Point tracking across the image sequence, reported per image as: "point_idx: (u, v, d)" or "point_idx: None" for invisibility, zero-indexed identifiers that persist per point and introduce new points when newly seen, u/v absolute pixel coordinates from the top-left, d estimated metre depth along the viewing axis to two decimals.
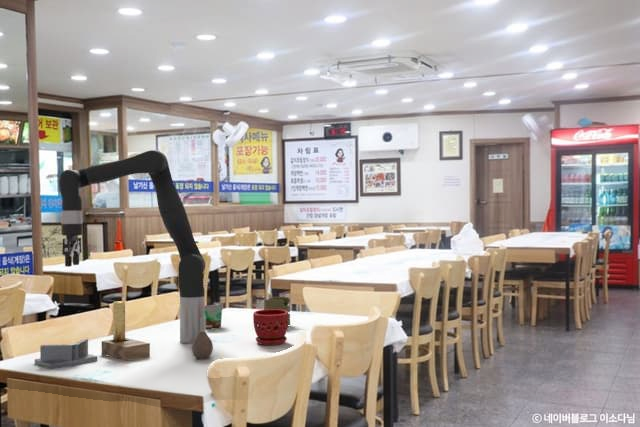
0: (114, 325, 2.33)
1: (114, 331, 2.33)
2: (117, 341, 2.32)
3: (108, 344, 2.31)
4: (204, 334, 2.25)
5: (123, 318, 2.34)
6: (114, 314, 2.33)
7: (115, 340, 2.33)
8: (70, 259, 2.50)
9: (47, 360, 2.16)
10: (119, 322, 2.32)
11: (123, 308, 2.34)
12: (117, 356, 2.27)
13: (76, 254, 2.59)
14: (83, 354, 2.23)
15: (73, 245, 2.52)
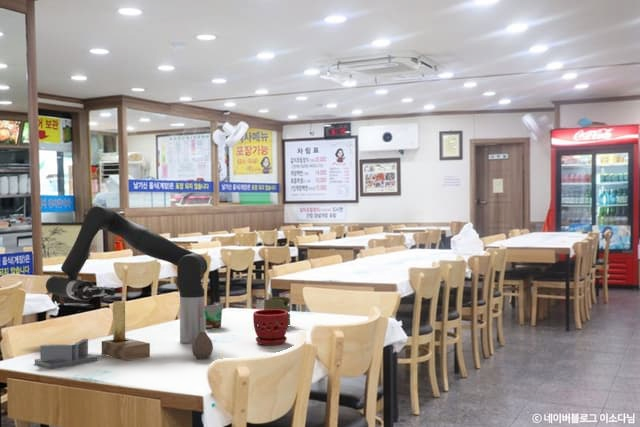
0: (114, 325, 2.33)
1: (114, 331, 2.33)
2: (117, 341, 2.32)
3: (108, 344, 2.31)
4: (204, 334, 2.25)
5: (123, 318, 2.34)
6: (114, 314, 2.33)
7: (115, 340, 2.33)
8: (86, 291, 2.40)
9: (47, 360, 2.16)
10: (119, 322, 2.32)
11: (123, 308, 2.34)
12: (117, 356, 2.27)
13: (107, 291, 2.48)
14: (83, 354, 2.23)
15: None
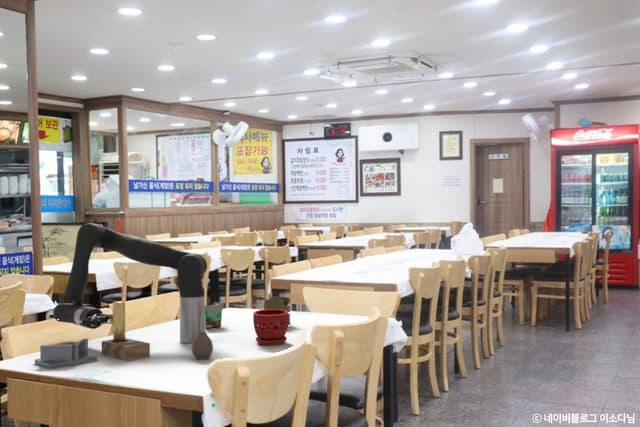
0: (114, 325, 2.33)
1: (114, 331, 2.33)
2: (117, 341, 2.32)
3: (108, 344, 2.31)
4: (204, 334, 2.25)
5: (123, 318, 2.34)
6: (114, 314, 2.33)
7: (115, 340, 2.33)
8: (95, 320, 2.37)
9: (47, 360, 2.16)
10: (119, 322, 2.32)
11: (123, 308, 2.34)
12: (117, 356, 2.27)
13: None
14: (83, 354, 2.23)
15: None
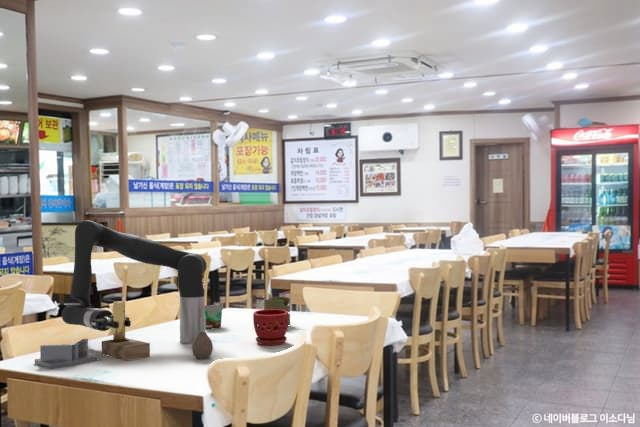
0: None
1: (114, 331, 2.33)
2: (118, 341, 2.32)
3: (108, 344, 2.31)
4: (204, 334, 2.25)
5: (123, 318, 2.34)
6: (114, 314, 2.33)
7: (115, 340, 2.33)
8: (112, 321, 2.32)
9: (47, 360, 2.16)
10: (119, 322, 2.32)
11: (123, 308, 2.34)
12: (117, 356, 2.27)
13: None
14: (83, 354, 2.23)
15: (105, 318, 2.36)
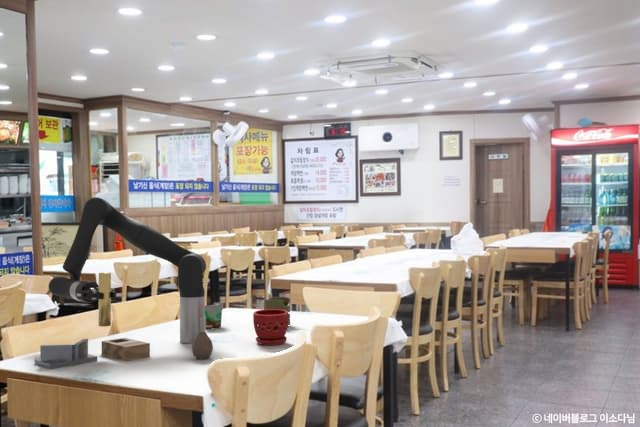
0: None
1: (99, 302, 2.30)
2: (103, 313, 2.29)
3: (108, 344, 2.31)
4: (204, 334, 2.25)
5: (109, 289, 2.30)
6: (99, 285, 2.29)
7: (100, 311, 2.29)
8: (97, 292, 2.29)
9: (47, 360, 2.16)
10: (104, 293, 2.29)
11: (109, 279, 2.30)
12: (117, 356, 2.27)
13: None
14: (83, 354, 2.23)
15: (90, 289, 2.33)
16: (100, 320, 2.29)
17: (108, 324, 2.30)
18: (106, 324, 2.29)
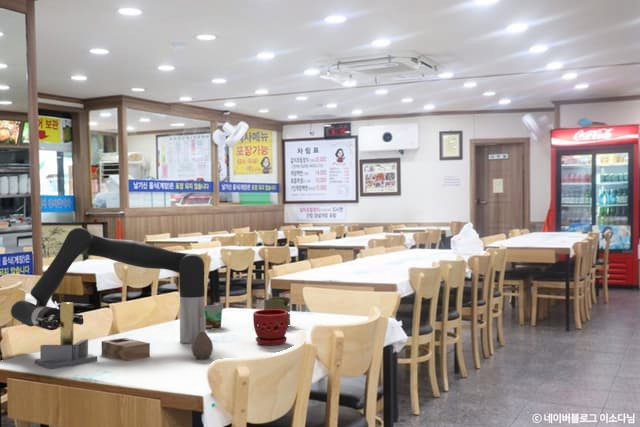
0: (61, 328, 2.19)
1: (61, 334, 2.19)
2: None
3: (108, 344, 2.31)
4: (204, 334, 2.25)
5: (71, 320, 2.20)
6: (61, 316, 2.19)
7: (62, 343, 2.19)
8: (52, 321, 2.18)
9: (47, 360, 2.16)
10: (66, 324, 2.19)
11: (71, 309, 2.20)
12: (117, 356, 2.27)
13: (75, 319, 2.25)
14: (83, 354, 2.23)
15: (50, 317, 2.22)
16: None
17: None
18: None
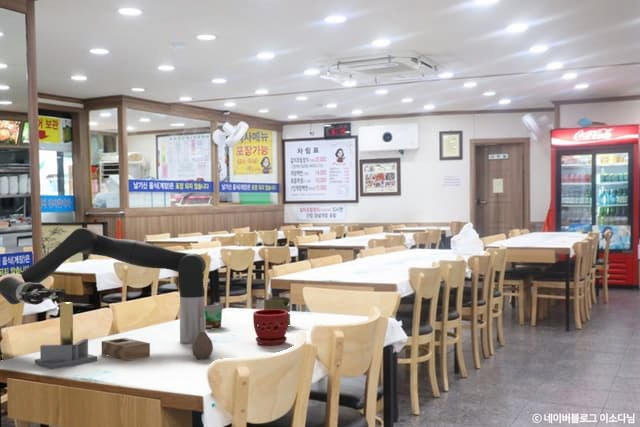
0: (61, 328, 2.19)
1: (61, 334, 2.19)
2: None
3: (108, 344, 2.31)
4: (204, 334, 2.25)
5: (70, 320, 2.20)
6: (61, 316, 2.19)
7: (62, 343, 2.19)
8: (34, 294, 2.27)
9: (47, 360, 2.16)
10: (65, 324, 2.19)
11: (70, 309, 2.20)
12: (117, 356, 2.27)
13: (58, 293, 2.34)
14: (83, 354, 2.23)
15: (33, 291, 2.31)
16: None
17: None
18: None
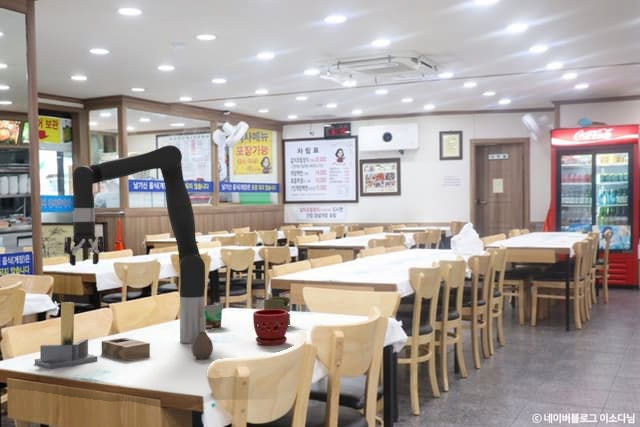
0: (61, 327, 2.19)
1: (61, 334, 2.19)
2: None
3: (108, 344, 2.31)
4: (204, 334, 2.25)
5: (71, 320, 2.20)
6: (62, 316, 2.19)
7: (62, 343, 2.19)
8: (73, 258, 2.43)
9: (47, 360, 2.16)
10: (66, 324, 2.19)
11: (71, 309, 2.20)
12: (117, 356, 2.27)
13: (94, 253, 2.50)
14: (83, 354, 2.23)
15: (78, 244, 2.44)
16: None
17: None
18: None
